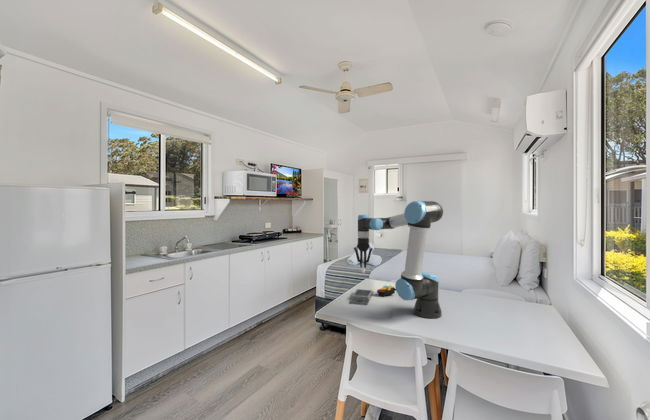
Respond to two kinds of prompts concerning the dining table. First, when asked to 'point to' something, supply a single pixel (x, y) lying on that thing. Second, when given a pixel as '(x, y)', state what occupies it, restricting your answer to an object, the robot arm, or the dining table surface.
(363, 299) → the grey rectangular box
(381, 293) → the gadget
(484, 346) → the dining table surface
